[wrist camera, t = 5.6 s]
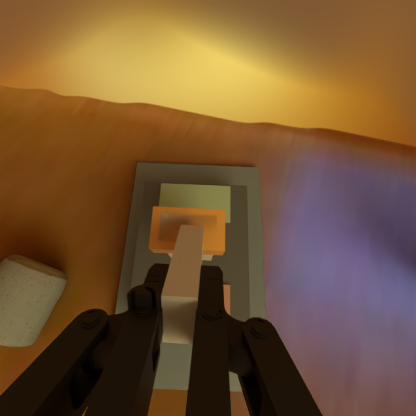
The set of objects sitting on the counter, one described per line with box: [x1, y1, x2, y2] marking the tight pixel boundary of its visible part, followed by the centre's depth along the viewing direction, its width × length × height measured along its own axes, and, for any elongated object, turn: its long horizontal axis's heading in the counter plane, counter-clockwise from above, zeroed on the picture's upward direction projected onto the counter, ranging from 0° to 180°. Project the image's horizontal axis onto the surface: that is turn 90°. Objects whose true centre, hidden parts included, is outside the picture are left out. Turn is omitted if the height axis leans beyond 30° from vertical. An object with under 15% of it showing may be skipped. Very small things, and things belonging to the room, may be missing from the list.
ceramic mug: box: [0, 254, 67, 347], centre depth 29 cm, size 11×8×8 cm
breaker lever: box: [149, 206, 225, 261], centre depth 22 cm, size 3×5×9 cm, turn 88°
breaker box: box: [115, 162, 266, 392], centre depth 31 cm, size 28×18×8 cm, turn 178°
